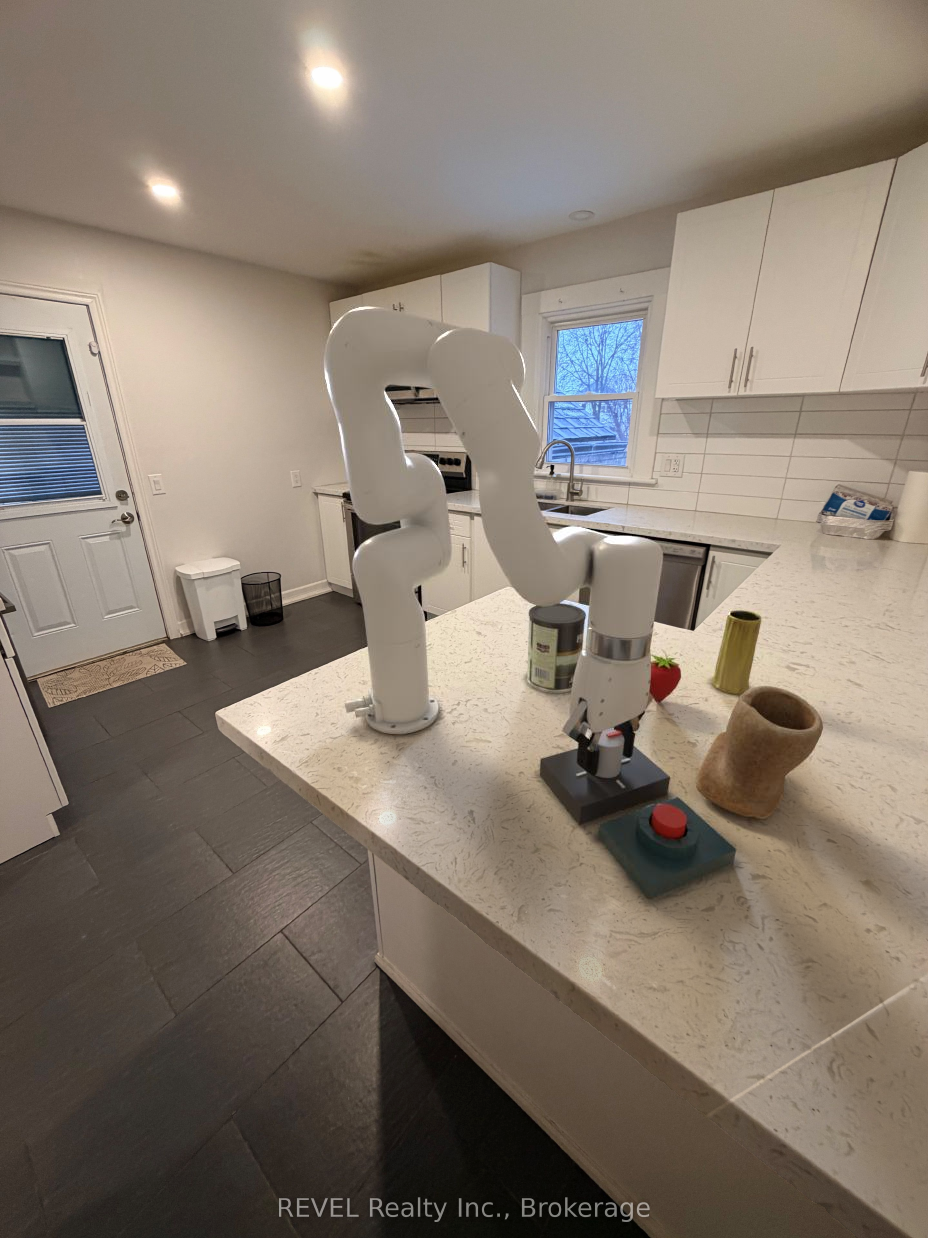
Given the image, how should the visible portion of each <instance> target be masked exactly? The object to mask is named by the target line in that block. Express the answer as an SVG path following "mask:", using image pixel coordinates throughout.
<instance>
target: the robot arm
mask: <svg viewBox="0 0 928 1238" xmlns="http://www.w3.org/2000/svg"><path fill="white" fill-rule="evenodd" d="M323 368H324V369H323V370H324V378H325V383H326V387H327V391H328V395H329V398H330V401H331V404H332V408H333V411H334V414H335V418H336V422H337V426H338V430H339V434H340V435H339V436H340V443H341V450H342V455H343V461H344V462H343V463H344V465H345V466H344V467H345V473H346V479H347V484H348V490H349V495H350V500H351V503H352V507H353V510H354V512H355V514H356V515H357V517H358V518H359V519H360V520H361V521H362V522H364V523H366V524H369V525H375V526H379V525H384V524H385V525H386V524H390V523H394V522H400V523H399V524H400V527H399V528H395V529H391V530H388V531H385V532H382V533H378V534H376V535H373V536H371V537H370V538H368V539H366V540H364V541H363V542H362V543H361V544H360V545H359V546H358V547H357V548H356V550H355V552H354V555H353V558H352V568H351V569H352V573H353V577H354V581H355V584H356V587H357V590H358V594H359V597H360V601H361V605H362V611H363V618H364V619H363V620H364V626H365V636H366V645H367V652H368V662H369V671H370V680H371V681H370V682H371V688H368V689H367V691H368V693H367V694H366V695H364V696H362V698H358V699H351V700H347V701H344V707H345V711H346V714H348V713H353V712H354V714H355V715H354V716H355V718H356V719H357V718H360V717H361V718H362V717H365V721H366V723H367V725H369V726H370V728H372V729H373V730H375V731H378V732H381V733H384V734H390V735H405V734H411V733H415V732H418V731H421V730H424V729H425V728H427V727H429V726H430V725H431V724H432V723H435V721H436V720H437V718H438V717H439V712H440V707H439V706H440V705H439V702H438V700H437V699H436V698H435V697H434V696H433V695H431V694H430V687H429V668H428V648H427V647H428V646H427V629H426V618H425V613H424V609H423V607H422V605H421V603H420V602H419V600H418V598H417V595H416V591H415V590H416V588H418V587H420V586H421V585H423V584H426V583H428V582H429V581H432V580H435V579H436V578H437V577H439V576H440V575H442V574H443V573H444V572H445V571H446V570H447V569H448V567H449V566H450V562H451V560H452V554H453V553H452V552H453V551H452V550H453V547H452V546H453V543H452V534H451V525H450V515H449V507H448V497H447V490H446V489H447V488H446V485H445V480H444V477H443V475H442V473H441V470H440V469H439V468H438V466H437V465H436V463H435V462H434V461H433V460H432V459H431V458H429V457H428V456H426V455H424V454H422V453H418V452H405V447H404V441H403V436H402V435H403V434H402V426H401V422H400V419H399V415H398V413H397V411H396V409H395V406H394V404H393V403H392V401H391V399H390V398H389V397H388V394H387V393H386V388H387V387H388V386H399V387H418V388H425V389H426V388H427V389H431V390H433V391H434V393H435V395H436V397H437V398H438V400H439V402H440V404H441V406H442V408H443V410H444V412H445V414H446V416H447V418H448V420H449V421H450V423H451V426H452V427H453V429H454V431H455V432H456V435H457V437H458V438H459V441H460V443H461V444H462V447H463V448H464V450H465V452H466V454H467V456H468V458H469V459H470V461H471V464H472V465H473V467H474V469H475V472H476V474H477V478H478V500H479V508H480V515H481V521H482V522H481V523H482V528H483V531H484V535H485V538H486V540H487V543H488V545H489V547H490V549H491V551H492V553H493V555H494V557H495V559H496V561H497V563H498V565H499V567H500V568H501V569H500V570H502V572H503V574H504V576H505V577H506V579H507V581H508V582H509V584H510V585H511V587H512V588H513V589H514V590H515V592H516V593H517V595H519V596H520V597H521V598H522V599H523V600H524V601H526V602H528V603H529V604H532V605H534V606H536V605H537V606H543V607H544V606H553V605H556V604H559V603H563V602H564V601H566V600H567V599H568V598H569V597H571V596H572V595H573V594H574V593H576V591H578V590H580V589H584V588H589V589H590V592H589V601H588V603H589V604H588V615H587V616H588V618H587V626H586V637H585V648H584V649H582V651H581V653H580V656H579V659H578V662H577V666H576V670H575V674H574V678H573V684H572V690H571V691H570V698H569V706H568V715H569V718H568V719H567V720H566V722H565V724H563V727H562V729H561V731H562V733H563V734H565V735H566V736H568V737H569V738H570V739H572V740H573V741H575V742H576V743H577V748H578V752H577V764H578V765H579V766H580V767H582V768H583V769H584V770H586V771H587V772H588V773H589V774H591V775H592V776H594V775H596V774H597V770H598V761H599V749H597V748H596V747H597V744H598V742H599V739H600V737H601V734H602V731H605V730H607V729H610V728H611V729H614V730H616V731H618V730H620V731H621V732H622V735H623V737H624V747H623V755H624V756H625V757H627V758H630V757H632V754H633V747H634V746H635V739H636V732H638V730H639V729H640V725H641V724H640V721H641V719H642V718H643V717H644V715H645V713H646V710H647V709H648V707H649V706H650V704H651V703H652V702H653V700H654V698H653V696H652V695H651V694H650V693H649V689H650V679H651V662H652V655H651V647H652V646H651V645H652V639H653V632H654V627H655V619H656V618H655V617H656V611H657V603H658V596H659V591H660V590H659V589H660V582H661V576H662V569H663V561H664V553H663V548H662V547H661V545H660V544H659V543H657V542H656V541H654V540H652V539H649V538H645V537H641V536H634V535H633V536H632V535H618V536H617V535H616V536H614V535H610V534H605V533H602V532H598V531H595V530H591V529H588V528H584V527H579V526H567V527H561V528H559V529H557V530H554V531H553V532H552V531H551V529H550V527H549V525H548V524H547V522H546V519H545V517H544V516H543V513H542V511H541V508H540V505H539V502H538V498H537V495H536V489H535V488H536V487H535V469H536V465H537V461H538V458H539V455H540V451H541V448H542V439H541V436H540V433H539V432H538V431H539V430H538V429H537V428H536V425H535V424H534V422H533V420H532V418H531V416H530V414H529V412H528V411H527V409H526V407H525V405H524V403H523V401H522V399H521V397H520V396H519V395H520V392H521V390H522V388H523V386H524V382H525V377H526V367H525V362H524V358H523V356H522V353H521V351H520V350H519V348H518V347H517V345H516V344H515V343H514V342H513V341H511V340H510V339H509V338H508V337H506V336H504V335H502V334H501V335H500V334H498V333H493V332H490V331H485V330H481V329H477V328H472V327H461V326H457V325H454V324H449V323H446V322H443V321H440V320H439V321H438V320H435V319H430V318H426V317H422V316H419V315H415V314H410V313H407V312H403V311H399V310H395V309H392V308H388V307H387V308H386V307H380V306H379V307H378V306H362V307H357V308H354V309H351V310H349V311H347V312H345V313H344V314H343V315H342V316H340V317H339V318H338V320H337V321H336V322H335V323H334V325H333V326H332V328H331V330H330V332H329V333H328V337H327V340H326V344H325V348H324V355H323ZM588 730H590V733H591V732H592V735H591V737H590V736H589V738H588V737H587V736H586V735H587V731H588Z"/></svg>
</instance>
